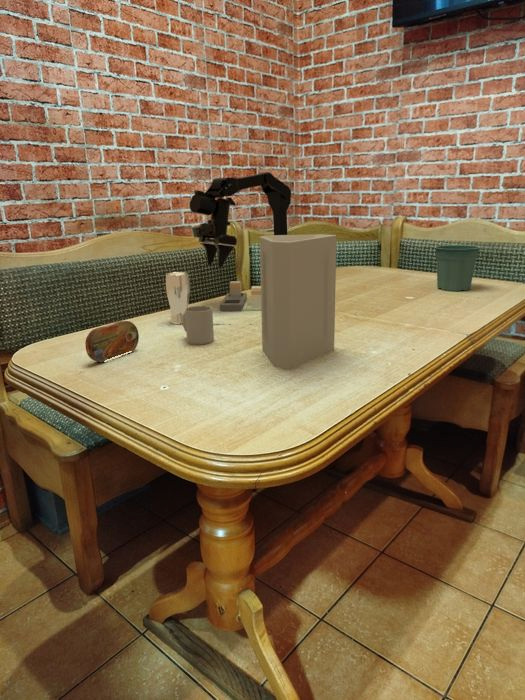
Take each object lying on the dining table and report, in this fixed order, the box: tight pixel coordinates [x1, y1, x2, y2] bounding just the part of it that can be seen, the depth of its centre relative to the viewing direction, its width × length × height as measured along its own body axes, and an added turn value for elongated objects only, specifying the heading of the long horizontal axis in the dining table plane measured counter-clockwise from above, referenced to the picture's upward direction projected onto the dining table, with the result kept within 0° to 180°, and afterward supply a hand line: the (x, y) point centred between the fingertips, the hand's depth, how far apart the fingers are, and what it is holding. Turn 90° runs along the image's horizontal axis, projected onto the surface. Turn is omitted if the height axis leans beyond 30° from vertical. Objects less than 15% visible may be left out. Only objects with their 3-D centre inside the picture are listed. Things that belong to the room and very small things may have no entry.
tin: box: [84, 320, 140, 363], centre depth 123 cm, size 15×3×8 cm, turn 148°
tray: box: [242, 302, 261, 312], centre depth 169 cm, size 9×9×2 cm
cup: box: [182, 305, 215, 346], centre depth 135 cm, size 7×10×9 cm
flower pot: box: [434, 244, 481, 292], centre depth 194 cm, size 16×16×16 cm
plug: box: [250, 285, 261, 308], centre depth 168 cm, size 4×4×7 cm
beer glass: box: [165, 271, 190, 325], centre depth 154 cm, size 7×7×15 cm
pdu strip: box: [219, 280, 248, 313], centre depth 173 cm, size 7×20×8 cm, turn 177°
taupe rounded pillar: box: [259, 233, 338, 371], centre depth 119 cm, size 19×15×28 cm
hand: (214, 265), depth 167 cm, fingers open, 9 cm apart
